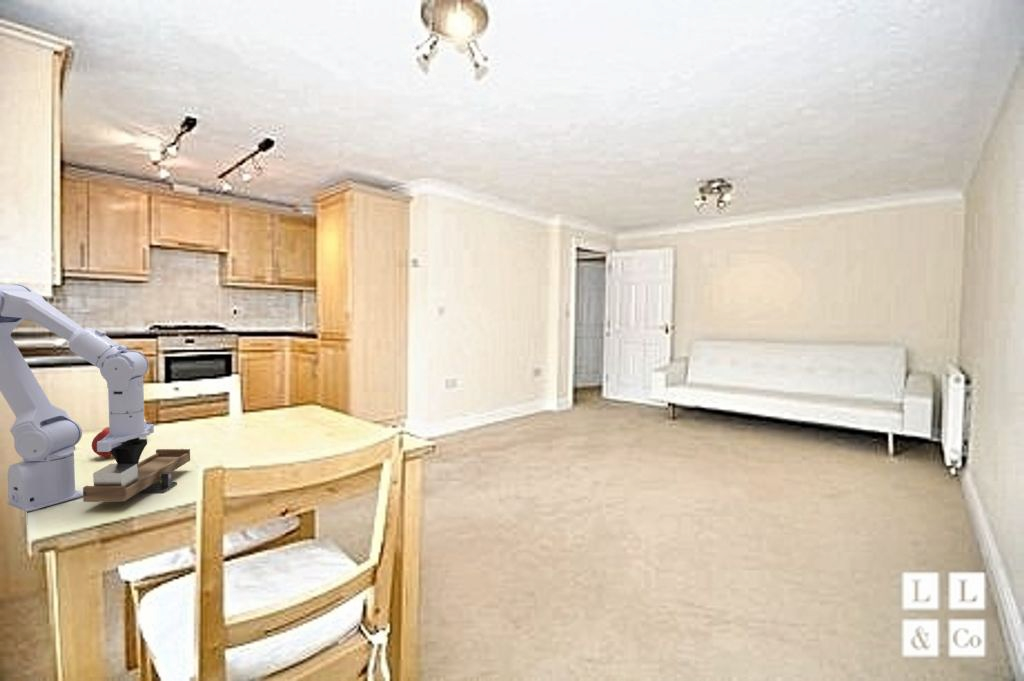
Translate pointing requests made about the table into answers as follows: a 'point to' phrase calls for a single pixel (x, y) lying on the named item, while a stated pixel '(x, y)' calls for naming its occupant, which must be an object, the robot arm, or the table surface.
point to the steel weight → (116, 475)
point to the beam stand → (161, 484)
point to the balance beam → (140, 476)
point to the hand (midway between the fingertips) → (128, 476)
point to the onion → (99, 438)
